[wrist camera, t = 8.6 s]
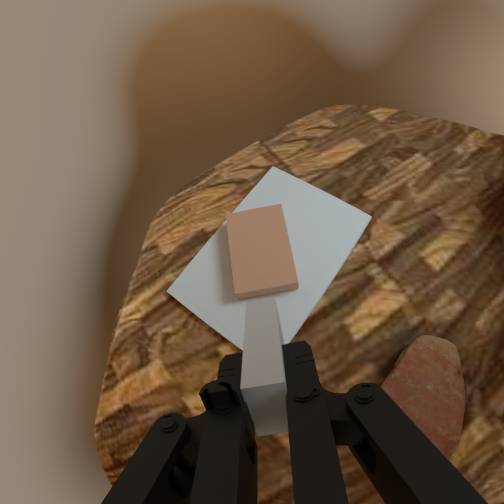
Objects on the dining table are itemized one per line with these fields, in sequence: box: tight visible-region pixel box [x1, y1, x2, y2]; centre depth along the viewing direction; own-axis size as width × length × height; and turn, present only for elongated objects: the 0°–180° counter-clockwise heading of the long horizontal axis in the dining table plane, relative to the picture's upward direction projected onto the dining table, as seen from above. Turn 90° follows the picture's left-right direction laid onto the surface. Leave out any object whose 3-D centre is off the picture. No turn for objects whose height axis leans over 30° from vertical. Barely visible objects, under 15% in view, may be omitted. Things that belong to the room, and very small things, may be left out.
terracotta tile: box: [226, 204, 299, 299], centre depth 43 cm, size 2×8×12 cm
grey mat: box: [167, 167, 371, 351], centre depth 44 cm, size 26×18×1 cm
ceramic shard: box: [380, 335, 465, 459], centre depth 31 cm, size 15×6×15 cm
